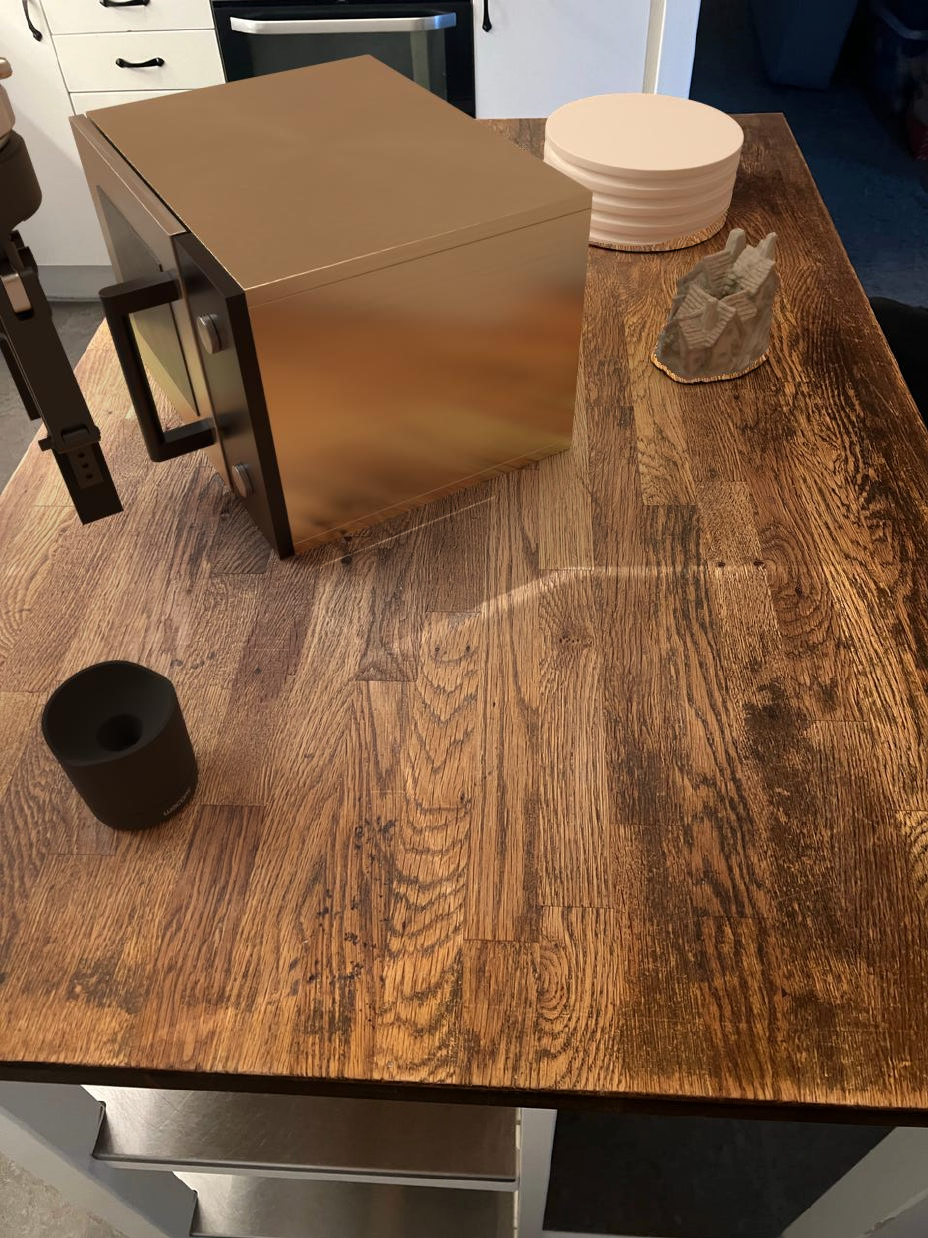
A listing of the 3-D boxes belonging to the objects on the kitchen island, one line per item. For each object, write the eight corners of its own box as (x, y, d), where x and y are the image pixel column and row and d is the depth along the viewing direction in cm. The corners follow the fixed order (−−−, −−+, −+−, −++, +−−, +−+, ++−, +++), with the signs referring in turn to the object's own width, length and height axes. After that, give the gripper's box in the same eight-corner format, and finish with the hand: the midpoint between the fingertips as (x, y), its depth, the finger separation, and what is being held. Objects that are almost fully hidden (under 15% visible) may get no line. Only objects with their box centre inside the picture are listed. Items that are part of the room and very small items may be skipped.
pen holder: (87, 853, 72) (43, 778, 65) (79, 755, 78) (38, 677, 71) (212, 817, 74) (183, 741, 67) (195, 724, 80) (167, 645, 73)
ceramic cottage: (723, 300, 126) (741, 188, 115) (792, 369, 116) (820, 253, 105) (615, 329, 123) (623, 218, 112) (677, 402, 113) (693, 288, 102)
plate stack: (743, 253, 136) (762, 170, 127) (545, 251, 136) (550, 168, 127) (710, 170, 155) (725, 93, 146) (536, 168, 155) (541, 91, 146)
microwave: (273, 564, 93) (214, 298, 73) (133, 355, 119) (61, 115, 99) (571, 447, 106) (593, 191, 85) (386, 281, 131) (368, 53, 111)
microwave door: (171, 513, 99) (91, 254, 78) (85, 368, 117) (3, 129, 97) (245, 486, 101) (186, 230, 81) (150, 349, 120) (83, 113, 100)
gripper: (82, 209, 45) (186, 543, 61) (-30, 63, 60) (77, 362, 75) (-85, 250, 43) (68, 588, 58) (-159, 87, 57) (-21, 391, 73)
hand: (73, 461), depth 67 cm, fingers open, 13 cm apart
